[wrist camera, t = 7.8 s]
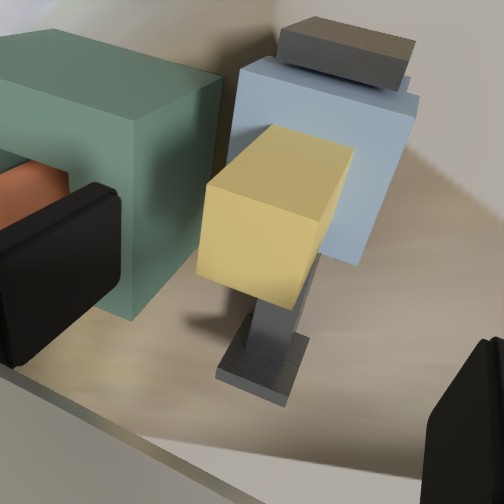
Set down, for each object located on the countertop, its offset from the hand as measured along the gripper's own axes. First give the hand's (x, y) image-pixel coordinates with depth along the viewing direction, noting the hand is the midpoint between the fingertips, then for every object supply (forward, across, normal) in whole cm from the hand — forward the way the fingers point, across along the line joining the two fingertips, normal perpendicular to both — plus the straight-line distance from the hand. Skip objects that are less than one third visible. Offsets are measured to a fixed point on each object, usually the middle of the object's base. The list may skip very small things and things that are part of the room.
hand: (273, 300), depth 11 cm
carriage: (+13, +2, -1) cm, 13 cm away
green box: (+12, +13, +4) cm, 18 cm away
